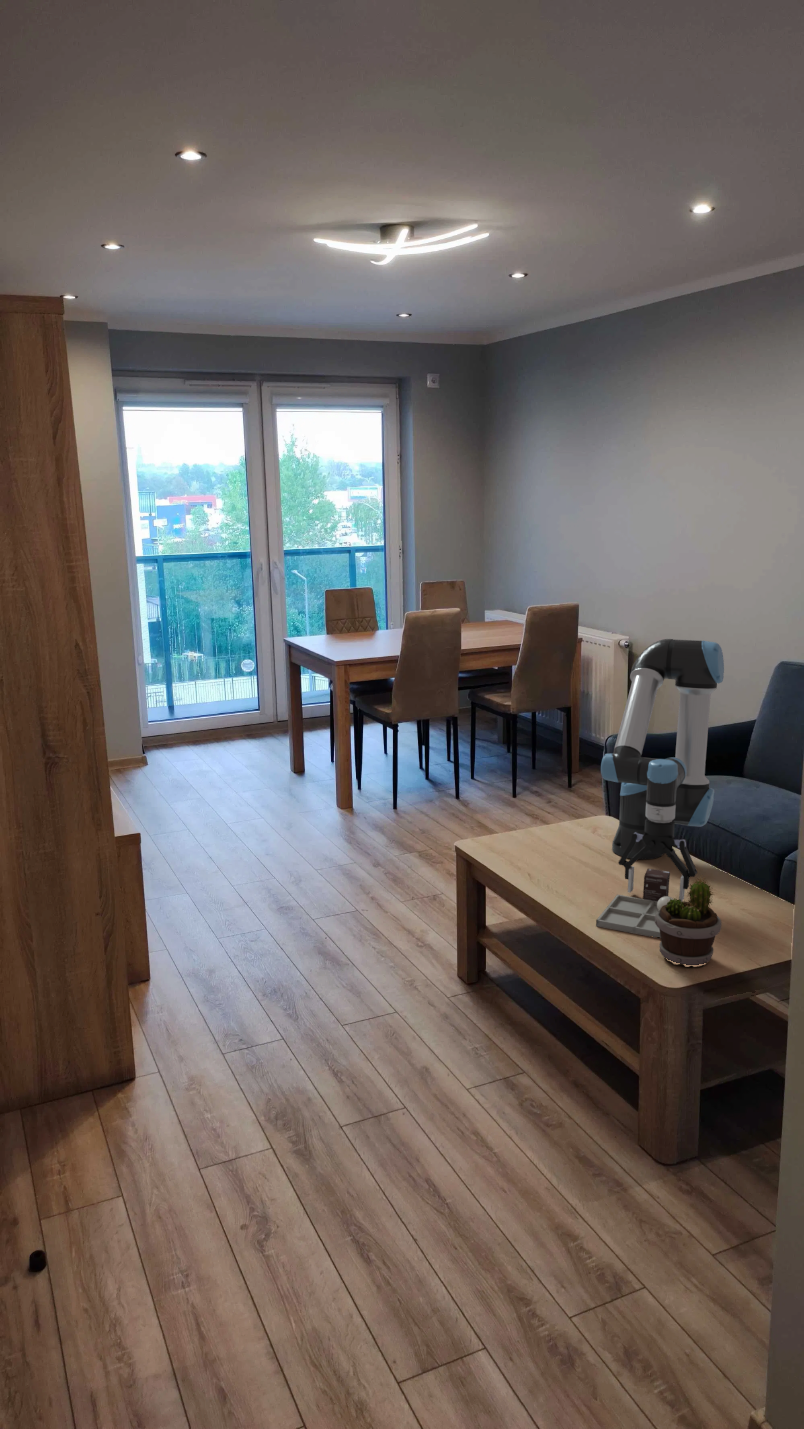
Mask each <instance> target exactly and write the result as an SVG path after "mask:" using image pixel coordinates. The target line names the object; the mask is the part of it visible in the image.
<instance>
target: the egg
mask: <svg viewBox="0 0 804 1429" xmlns="http://www.w3.org/2000/svg"><path fill="white" fill-rule="evenodd" d="M670 898H671V899H672V900H674V897H671V896H669V895H668V896H664V897H661V898H660V899H659V900H658V902H657V908H658V911H659V910H660V909H661V907H662V906H664V905H667V903H668V902H669V901H670Z"/></svg>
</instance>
